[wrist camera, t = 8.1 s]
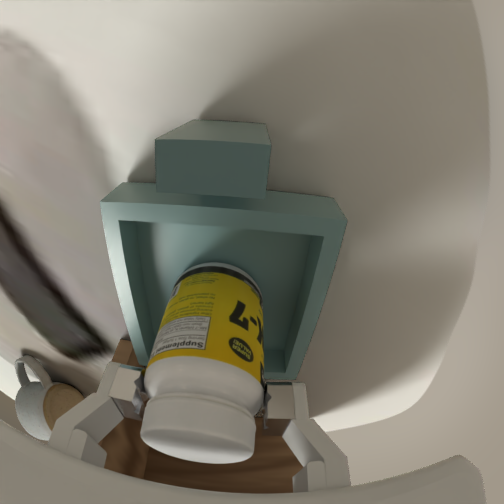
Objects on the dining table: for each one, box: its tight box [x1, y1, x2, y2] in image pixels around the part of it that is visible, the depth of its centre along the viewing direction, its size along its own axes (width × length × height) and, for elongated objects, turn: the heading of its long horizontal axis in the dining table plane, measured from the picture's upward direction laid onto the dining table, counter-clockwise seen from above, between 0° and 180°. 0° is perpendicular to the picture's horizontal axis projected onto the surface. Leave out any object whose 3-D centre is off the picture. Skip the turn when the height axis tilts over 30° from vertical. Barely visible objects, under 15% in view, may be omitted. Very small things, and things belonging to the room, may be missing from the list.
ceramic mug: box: [15, 355, 85, 441], centre depth 21 cm, size 11×8×8 cm
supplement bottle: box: [140, 262, 265, 464], centre depth 11 cm, size 5×5×8 cm
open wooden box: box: [98, 339, 303, 494], centre depth 16 cm, size 12×16×14 cm
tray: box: [100, 120, 347, 380], centre depth 13 cm, size 14×10×5 cm
